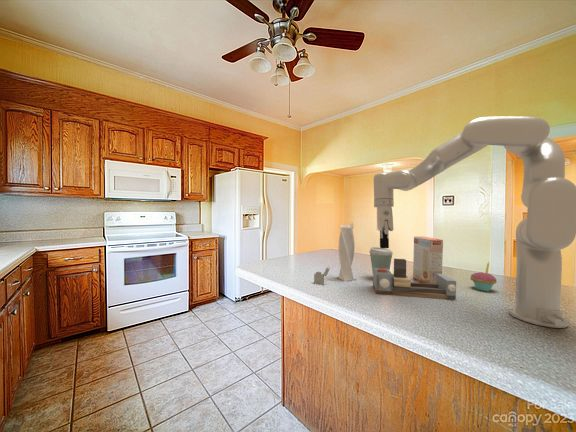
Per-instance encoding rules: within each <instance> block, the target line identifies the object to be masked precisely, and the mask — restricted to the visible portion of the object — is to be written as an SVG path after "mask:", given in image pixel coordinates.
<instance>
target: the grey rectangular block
mask: <svg viewBox="0 0 576 432" xmlns="http://www.w3.org/2000/svg"><path fill="white" fill-rule="evenodd" d="M436 284H438V289H444V290H446V295H447V299H446V300H449V299H448V295H451V296H452V297H453V296H456V297H457V281H456V280H455V279H453V278H452V277H450V276H448V275H446V274H445V273H442V274H436ZM452 297H451V299H452ZM449 298H450V296H449ZM451 299H450V300H451ZM452 300H453V301H455V300H454V297H453V299H452Z"/></svg>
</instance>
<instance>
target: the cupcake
mask: <svg viewBox="0 0 576 432" xmlns="http://www.w3.org/2000/svg"><path fill="white" fill-rule="evenodd" d="M489 267H490V261H488V262H487V263H486V268H485V272H484V271H483V272H481V271H480V272H475V273H472V274H471V275H470V280H471V281H472V282H473V284H474V287H475V289H476V290H479V291H482V292H490V291H491V290H492V288H493V286H494V284H497V278H496V277H495V276H494V275H492V274H490V273H488V272H489Z"/></svg>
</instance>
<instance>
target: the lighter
mask: <svg viewBox="0 0 576 432" xmlns="http://www.w3.org/2000/svg"><path fill="white" fill-rule="evenodd" d="M330 270H331V267H330V266H327V267H326V268H325V270H324V272H323V273H322V271H316V272H315V273H314V274H313V284H314V283H316V284H315V285H322V286H323V285H324V284H325V277H327V275H328V273H329V271H330Z"/></svg>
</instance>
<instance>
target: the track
mask: <svg viewBox="0 0 576 432" xmlns="http://www.w3.org/2000/svg"><path fill="white" fill-rule="evenodd" d="M372 287H373V289H374V292H375V294H376V295H385V296H386V295H388V296H399V297H412V298H413V297H415V298H426V299H427V298H428V299H440V300H452V299H453V297H454V300H453V301H456V300H457V295H456V296H453V297H452V296H451V295H448V299H447V295H446V290H444V289H438V284H429V283H421V282H411V287H397V286H393V291H383V290H376V288H375V286H374V285H373V284H372ZM376 291H377V293H376ZM378 292H379V294H378ZM387 292H388V293H389V294H388V293H387ZM380 293H381V294H380ZM382 293H383V294H382ZM386 293H387V294H386ZM390 293H392V295H390ZM449 296H450V298H449ZM451 297H452V299H451Z"/></svg>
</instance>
